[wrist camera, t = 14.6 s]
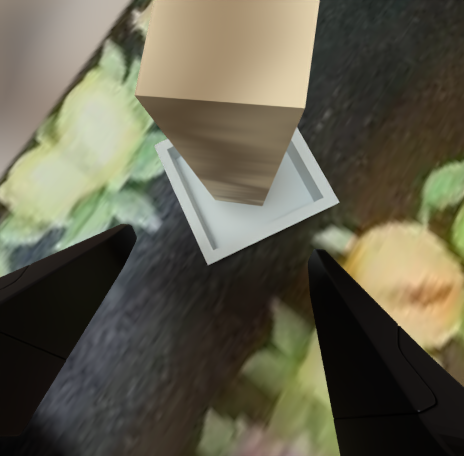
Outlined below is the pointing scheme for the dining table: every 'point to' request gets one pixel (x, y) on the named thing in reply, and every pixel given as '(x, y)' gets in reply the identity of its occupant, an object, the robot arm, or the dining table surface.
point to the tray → (243, 215)
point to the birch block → (229, 86)
